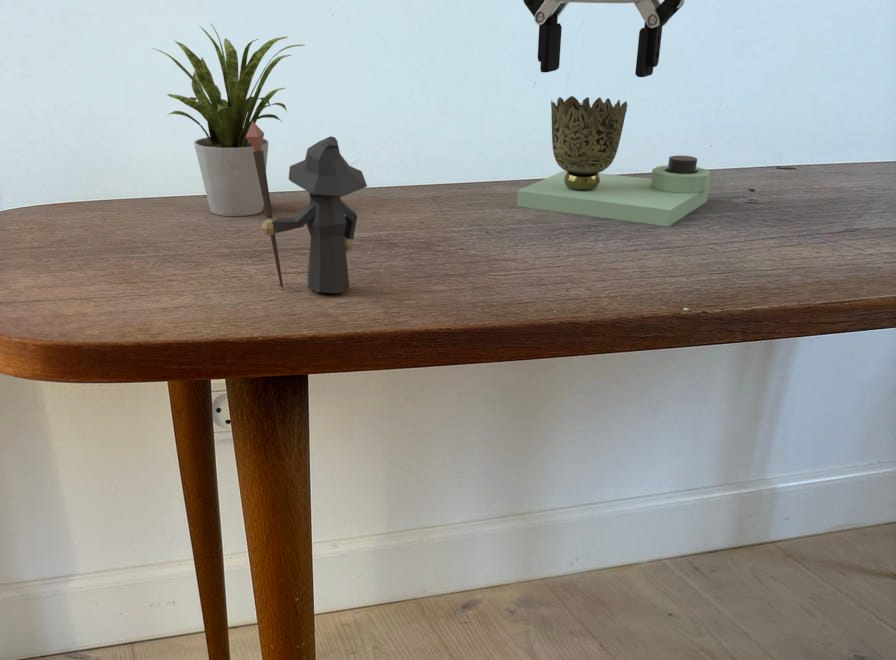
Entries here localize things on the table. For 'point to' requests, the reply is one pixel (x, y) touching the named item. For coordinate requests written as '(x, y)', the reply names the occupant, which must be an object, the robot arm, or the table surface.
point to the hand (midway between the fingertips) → (595, 73)
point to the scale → (623, 196)
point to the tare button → (682, 164)
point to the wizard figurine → (317, 210)
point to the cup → (585, 138)
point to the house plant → (229, 127)
